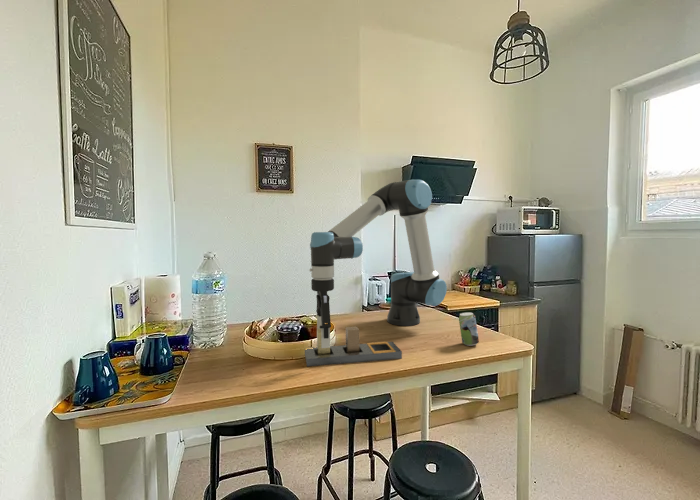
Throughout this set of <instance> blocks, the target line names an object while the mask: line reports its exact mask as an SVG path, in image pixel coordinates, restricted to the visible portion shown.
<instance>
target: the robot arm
mask: <svg viewBox="0 0 700 500" xmlns="http://www.w3.org/2000/svg"><path fill="white" fill-rule="evenodd" d="M432 200H433V193H432V189H431V187H430V186H429V184H428V183H427V182H426V181H424V180H422V179H409V180H408V179H407V180H402V181H394V182H391V183H390V182H389V183H387V184H386V185H384V186H382V187H380V188H379V189H378V190H376V191H375V192H374V193H373V194H371V195H369V196H368V198H367V200H366V202H365V203H363V204H362V205H360V206H359V207H358V208H357V209H355V210H354V211H352V212H351V213H350V214H349V215H348V216H346V217H345V218H344V219H343V220H341V221H340V222H339V223H337V224H336V225H335V226H333V227H332V228H331V229H329V231H314V232H313V233H311V237H310V242H309V243H310V244H309V248H310V264H311V268H309V270H308V271H309V272H311V278H312V279H311V280H310V281H311V283H310V284H311V290H312V291H313V292H316V316H317V317H316V330H317V329H321V348H330V346H331V327H332V324H331V323H332V321H331V310H330V309H331V308H330V296H329V294H328V292H331V291H333V290H334V289H335V279H334V277H335V260H342V259H343V260H346V259H351V260H352V259H356V258H359V257H360V256H361V255H362V254H363V251H364V249H363V248H364V245H363V242H362V240H361V238H359V237H356V236H355V235H356V234H357V233H359V232H360V231H361V230H362V229H364V228H365V227H366V226H367V225H369V224H370V223H371V222H372V221H373V220H375V219H376V218H377V217H378V216H379V217H380V216H383V215H385V214H386V213H388V212H391V211H392V212H393V211H398V212H399V216H400V217H401V218H402V219H403V220H404V225H405V230H406V236H407V241H408V246H409V253H410V257H411V263H412V264H411V265H412V269H413V271H407V272H397V273H393V274H392V275H391V277H390V307H389V310H388V314H387V317H386V319H387V323H389V324H390V325H395V326H400V327H401V326H403V327H406V326H408V327H409V326H410V327H411V326H416V325H419V324H420V322H421V316H420V313H419V310H418V307H417V303H418V304H421V305H426V306H433V307H436V306H439V305H441V304H442V302H443V301H444V300H445V298H446V294H447V290H448V287H447V283H446V281H445V280H444V279H442V278H440V275H439V274H440V273H439V271H437V270H436V269H435V267H434V266H435V265H434V260H433V254H432V249H431V242H430V236H429V231H428V224H427V218H426V215H427V214H428V212H429V208H430V206H431V205H432V204H431V203H432Z"/></svg>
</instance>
